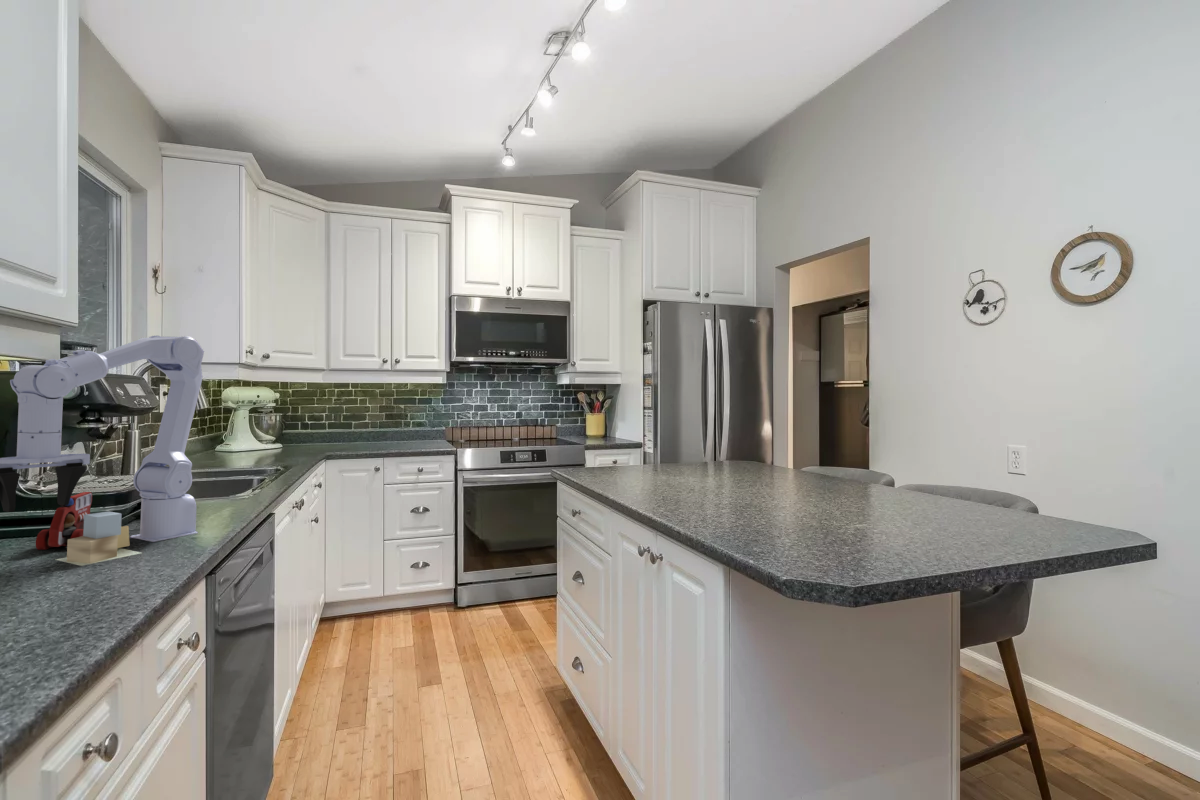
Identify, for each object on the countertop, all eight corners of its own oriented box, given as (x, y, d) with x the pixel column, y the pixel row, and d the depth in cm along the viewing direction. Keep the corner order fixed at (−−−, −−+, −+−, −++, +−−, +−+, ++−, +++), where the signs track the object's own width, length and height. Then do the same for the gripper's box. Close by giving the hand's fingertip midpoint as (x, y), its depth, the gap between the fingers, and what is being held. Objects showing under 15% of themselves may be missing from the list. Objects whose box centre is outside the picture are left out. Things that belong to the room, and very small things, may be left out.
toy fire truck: (28, 555, 110) (30, 500, 110) (65, 539, 122) (67, 490, 122) (73, 554, 112) (75, 500, 112) (105, 538, 124) (107, 490, 124)
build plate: (117, 549, 116) (117, 547, 116) (142, 554, 113) (142, 552, 113) (55, 561, 107) (55, 559, 107) (81, 567, 104) (81, 565, 104)
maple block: (94, 554, 111) (95, 533, 111) (116, 556, 110) (117, 535, 110) (66, 561, 106) (67, 539, 106) (90, 563, 105) (91, 541, 105)
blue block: (108, 531, 112) (108, 511, 112) (120, 534, 111) (121, 513, 111) (83, 536, 109) (84, 514, 109) (96, 538, 107) (97, 517, 107)
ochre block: (112, 547, 117) (110, 527, 118) (129, 545, 117) (128, 525, 117) (92, 551, 113) (91, 531, 114) (110, 549, 113) (109, 529, 113)
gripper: (-2, 435, 96) (-6, 517, 96) (100, 432, 109) (97, 503, 109) (-25, 432, 98) (-28, 512, 98) (78, 429, 112) (75, 500, 112)
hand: (36, 507), depth 104 cm, fingers open, 7 cm apart
